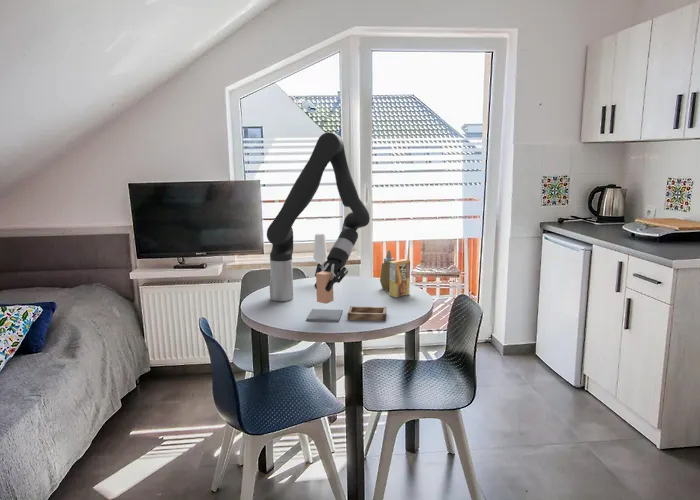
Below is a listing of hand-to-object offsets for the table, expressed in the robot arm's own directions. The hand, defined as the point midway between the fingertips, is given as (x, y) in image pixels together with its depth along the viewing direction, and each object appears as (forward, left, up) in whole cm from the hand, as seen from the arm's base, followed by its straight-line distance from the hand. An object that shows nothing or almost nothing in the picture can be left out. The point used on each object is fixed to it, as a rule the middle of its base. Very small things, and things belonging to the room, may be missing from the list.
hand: (321, 289), depth 174 cm
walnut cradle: (+17, +3, -11) cm, 20 cm away
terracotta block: (+1, +2, -5) cm, 5 cm away
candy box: (+29, +34, -11) cm, 46 cm away
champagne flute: (-9, +52, -11) cm, 54 cm away
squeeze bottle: (+24, +44, -11) cm, 51 cm away
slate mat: (+1, +2, -11) cm, 11 cm away
